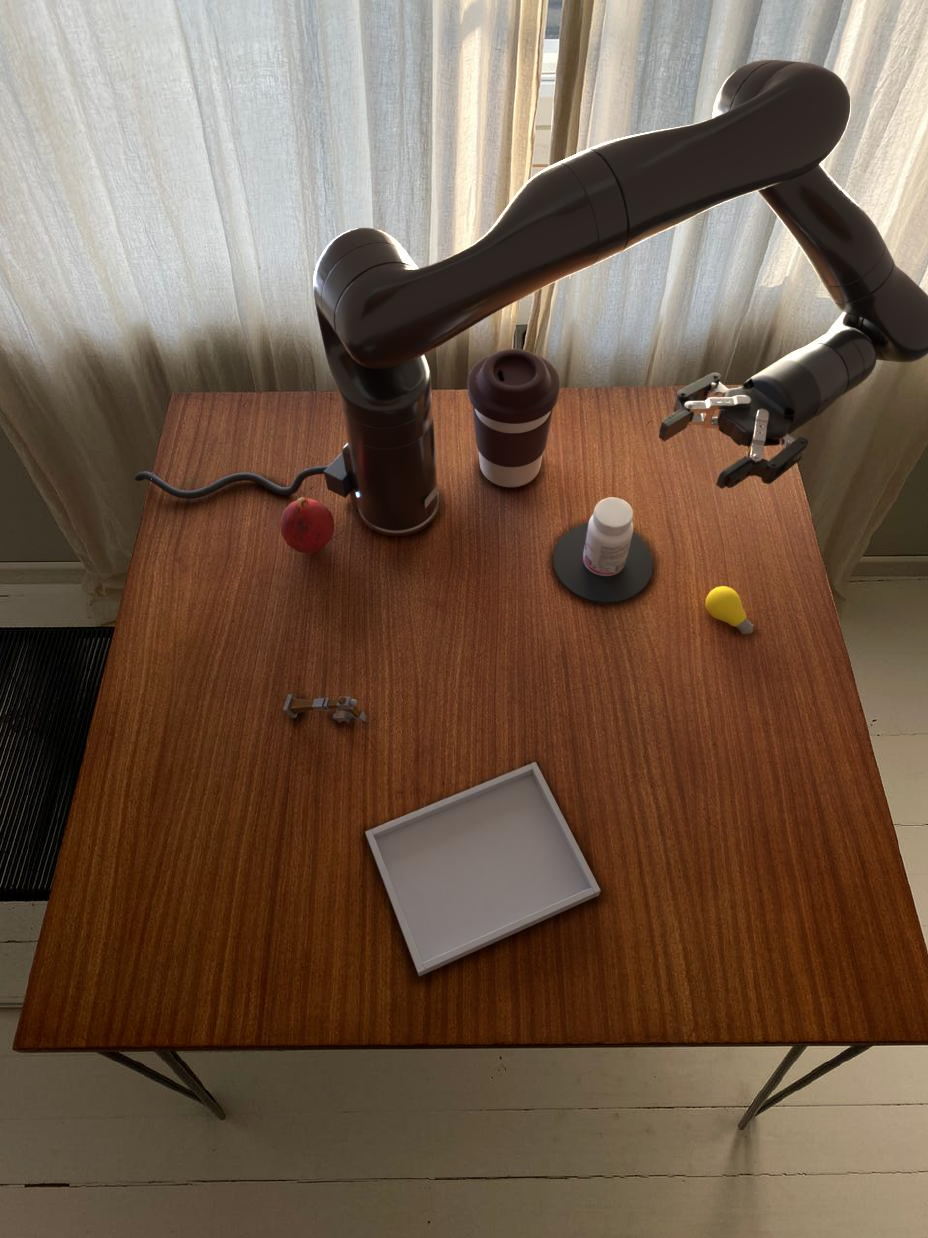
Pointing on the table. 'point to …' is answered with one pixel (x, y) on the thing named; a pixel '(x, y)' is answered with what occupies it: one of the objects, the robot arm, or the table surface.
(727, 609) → the light bulb
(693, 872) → the table surface
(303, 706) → the wooden post with brackets
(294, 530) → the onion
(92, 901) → the table surface
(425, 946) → the tray
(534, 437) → the coffee cup
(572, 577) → the mat
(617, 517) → the pill bottle
